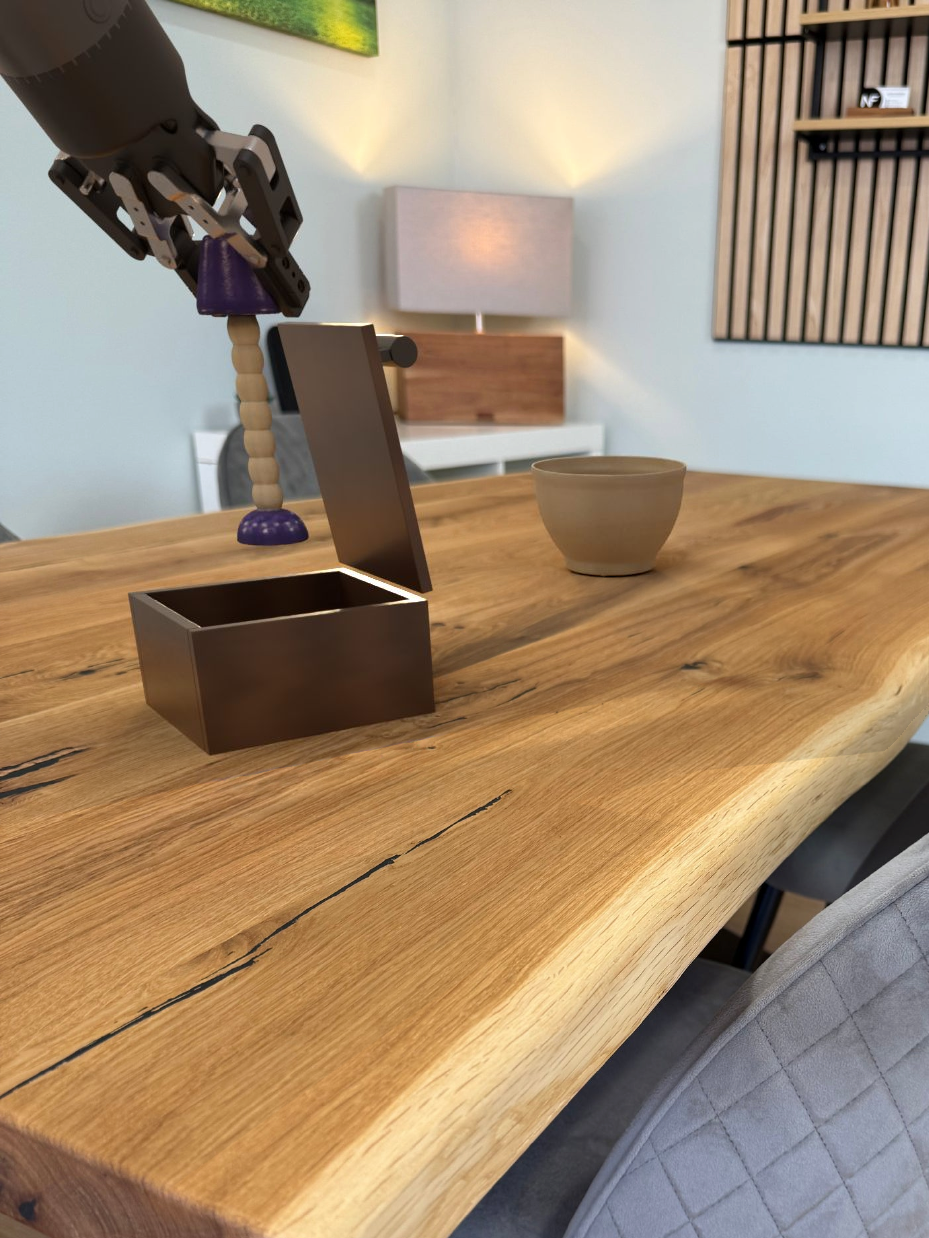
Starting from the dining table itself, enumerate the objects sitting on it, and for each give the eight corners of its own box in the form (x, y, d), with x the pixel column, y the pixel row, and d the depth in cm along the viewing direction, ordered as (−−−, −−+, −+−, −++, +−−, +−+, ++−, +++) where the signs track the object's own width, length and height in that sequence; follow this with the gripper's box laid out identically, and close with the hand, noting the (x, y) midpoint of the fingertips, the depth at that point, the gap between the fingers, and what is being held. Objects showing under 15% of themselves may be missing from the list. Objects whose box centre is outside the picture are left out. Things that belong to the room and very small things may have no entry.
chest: (213, 780, 71) (191, 632, 67) (149, 726, 80) (127, 592, 76) (437, 735, 78) (428, 599, 75) (355, 690, 88) (344, 567, 84)
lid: (360, 326, 67) (439, 310, 69) (276, 323, 76) (348, 309, 78) (422, 594, 74) (491, 571, 77) (338, 562, 84) (402, 543, 86)
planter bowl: (519, 559, 135) (516, 457, 130) (656, 552, 139) (657, 453, 135) (555, 588, 121) (552, 475, 116) (705, 579, 125) (708, 470, 121)
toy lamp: (266, 550, 71) (229, 230, 64) (210, 542, 73) (168, 232, 66) (323, 538, 75) (294, 236, 68) (268, 532, 77) (234, 237, 70)
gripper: (211, -60, 54) (389, 257, 69) (-20, -28, 59) (192, 259, 74) (142, 59, 51) (341, 359, 66) (-93, 81, 57) (141, 355, 72)
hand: (261, 305), depth 70 cm, fingers closed on toy lamp, 4 cm apart
